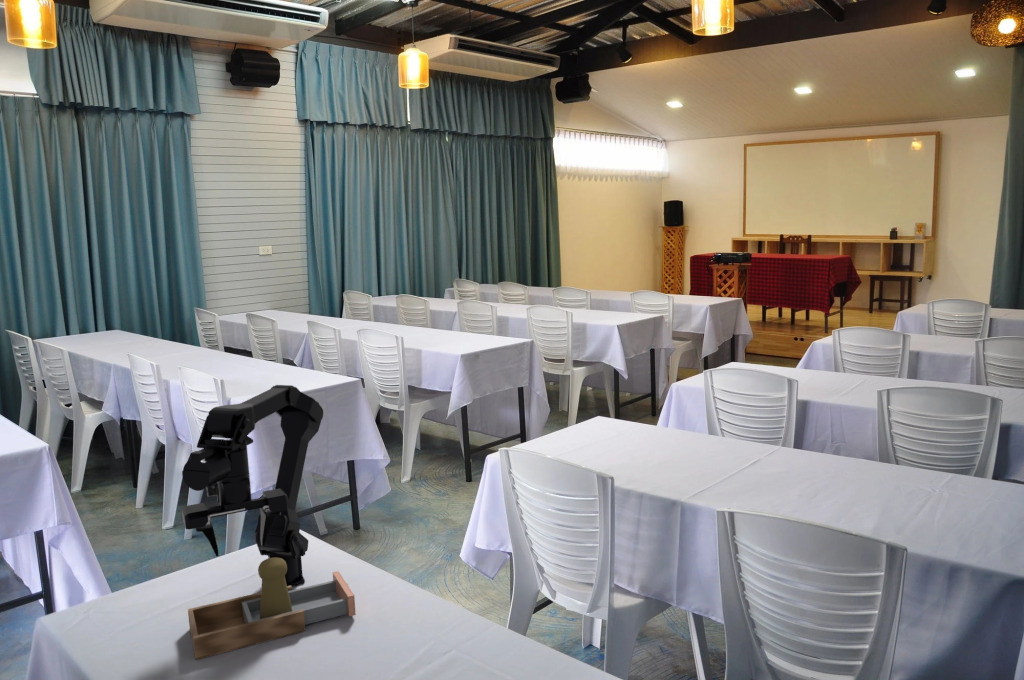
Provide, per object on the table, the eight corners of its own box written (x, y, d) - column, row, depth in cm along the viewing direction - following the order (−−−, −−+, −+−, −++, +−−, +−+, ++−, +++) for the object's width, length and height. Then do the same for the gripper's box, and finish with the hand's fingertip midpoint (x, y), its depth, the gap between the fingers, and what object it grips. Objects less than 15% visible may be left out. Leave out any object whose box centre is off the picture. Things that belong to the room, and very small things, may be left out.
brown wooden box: (292, 604, 155) (291, 585, 155) (305, 631, 145) (303, 611, 144) (189, 629, 147) (187, 609, 146) (195, 659, 137) (193, 638, 136)
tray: (339, 589, 160) (338, 571, 159) (355, 614, 149) (354, 595, 148) (241, 613, 151) (240, 593, 150) (251, 641, 141) (249, 620, 140)
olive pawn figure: (252, 620, 147) (248, 564, 145) (273, 605, 152) (269, 551, 150) (279, 625, 144) (274, 569, 143) (299, 610, 150) (295, 555, 148)
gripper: (274, 453, 159) (280, 526, 162) (175, 469, 150) (183, 546, 153) (286, 468, 149) (292, 545, 152) (181, 486, 141) (190, 568, 143)
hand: (240, 550), depth 150 cm, fingers open, 8 cm apart
